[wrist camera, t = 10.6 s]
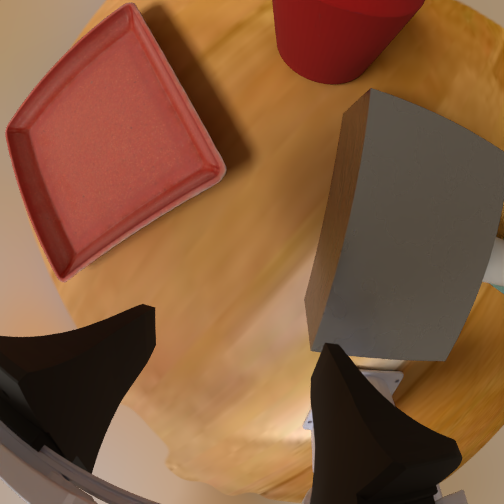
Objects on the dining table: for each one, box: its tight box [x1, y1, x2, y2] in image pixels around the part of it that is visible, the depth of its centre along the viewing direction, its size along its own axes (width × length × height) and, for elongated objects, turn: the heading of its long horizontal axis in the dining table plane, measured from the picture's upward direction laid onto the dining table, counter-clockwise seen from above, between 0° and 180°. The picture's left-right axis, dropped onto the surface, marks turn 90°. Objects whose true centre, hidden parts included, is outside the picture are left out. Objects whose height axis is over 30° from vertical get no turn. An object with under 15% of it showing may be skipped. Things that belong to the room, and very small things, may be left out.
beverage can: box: [272, 0, 425, 84], centre depth 9 cm, size 7×7×12 cm
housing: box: [304, 88, 504, 361], centre depth 15 cm, size 14×10×6 cm
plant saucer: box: [5, 3, 226, 282], centre depth 17 cm, size 18×18×3 cm
